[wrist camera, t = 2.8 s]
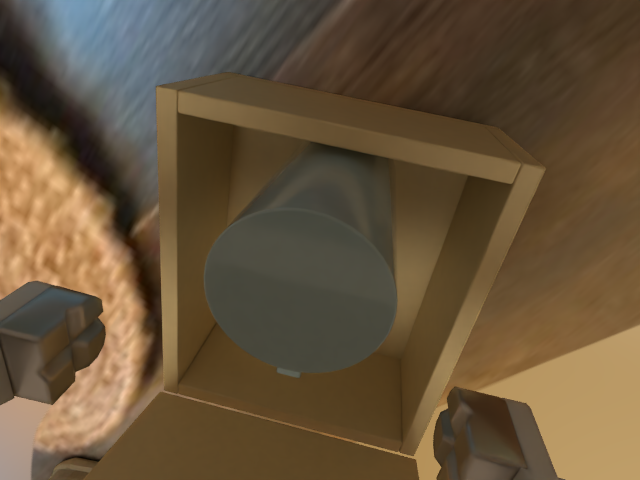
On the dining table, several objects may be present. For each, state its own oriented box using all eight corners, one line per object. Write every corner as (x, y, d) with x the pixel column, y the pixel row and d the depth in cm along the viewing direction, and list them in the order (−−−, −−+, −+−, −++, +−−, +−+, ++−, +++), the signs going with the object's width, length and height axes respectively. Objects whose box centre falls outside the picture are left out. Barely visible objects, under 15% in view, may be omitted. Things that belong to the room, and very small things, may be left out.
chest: (227, 71, 20) (154, 85, 14) (498, 127, 19) (547, 168, 13) (214, 313, 27) (163, 390, 21) (409, 361, 26) (413, 457, 20)
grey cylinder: (299, 113, 19) (205, 186, 10) (408, 136, 19) (423, 236, 9) (281, 243, 23) (198, 392, 13) (373, 264, 22) (357, 434, 13)
